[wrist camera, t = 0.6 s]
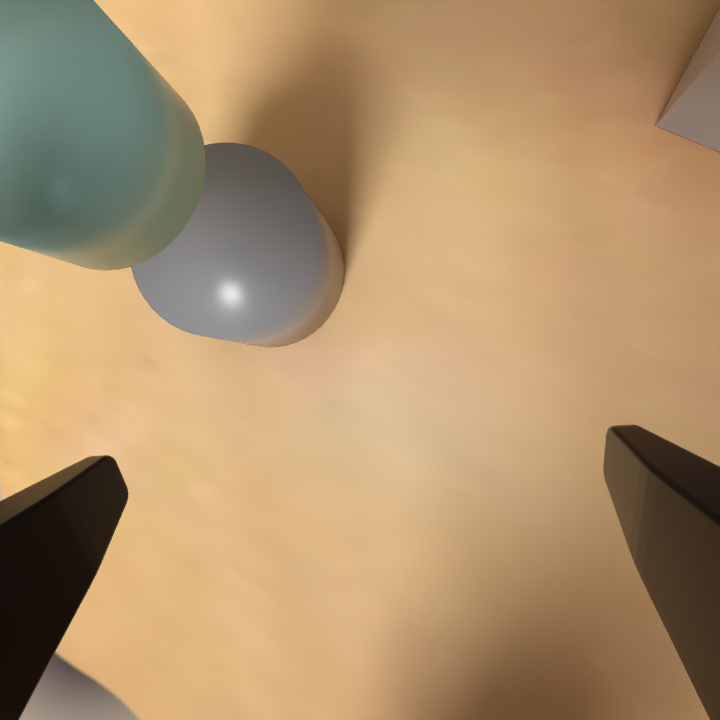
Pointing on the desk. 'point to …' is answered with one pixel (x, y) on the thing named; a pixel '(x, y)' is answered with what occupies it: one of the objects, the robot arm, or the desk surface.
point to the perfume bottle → (698, 95)
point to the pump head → (90, 140)
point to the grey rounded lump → (247, 256)
